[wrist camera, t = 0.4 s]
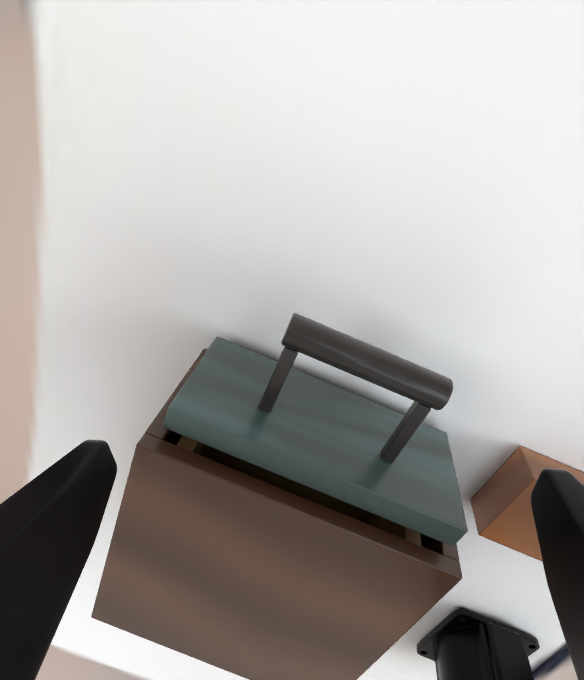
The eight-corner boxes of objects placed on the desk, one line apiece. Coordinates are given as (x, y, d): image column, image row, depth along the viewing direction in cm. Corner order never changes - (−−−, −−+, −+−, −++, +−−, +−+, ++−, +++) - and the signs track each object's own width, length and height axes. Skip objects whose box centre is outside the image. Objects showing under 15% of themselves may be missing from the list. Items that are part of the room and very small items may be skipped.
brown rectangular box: (587, 549, 27) (606, 588, 25) (469, 500, 27) (478, 535, 25) (648, 499, 25) (675, 537, 22) (519, 445, 24) (534, 478, 22)
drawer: (244, 253, 21) (198, 305, 15) (500, 362, 21) (544, 452, 16) (163, 493, 30) (116, 581, 24) (344, 566, 30) (336, 669, 25)
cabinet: (204, 348, 25) (136, 444, 18) (438, 446, 25) (463, 578, 18) (153, 504, 32) (90, 617, 25) (336, 579, 32) (325, 710, 25)
